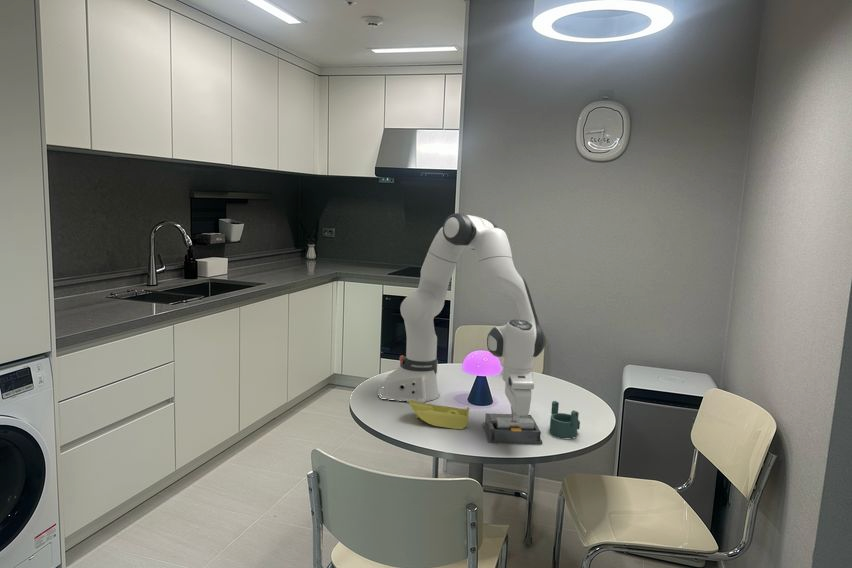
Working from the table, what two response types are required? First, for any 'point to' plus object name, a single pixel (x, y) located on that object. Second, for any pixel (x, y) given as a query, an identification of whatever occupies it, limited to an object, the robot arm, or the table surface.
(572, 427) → the bracket
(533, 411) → the table surface
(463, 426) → the plastic component
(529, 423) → the gray metallic block
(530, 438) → the grey flat box
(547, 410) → the table surface
